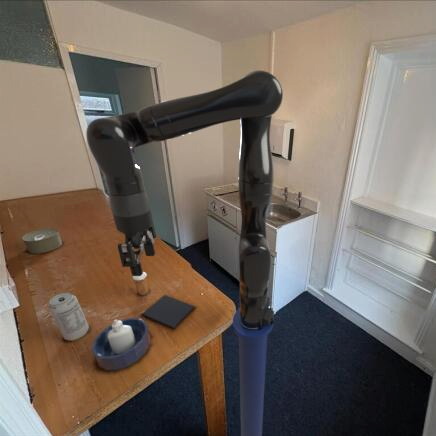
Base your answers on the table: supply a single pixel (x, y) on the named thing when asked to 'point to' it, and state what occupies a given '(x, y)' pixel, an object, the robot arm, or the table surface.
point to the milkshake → (141, 283)
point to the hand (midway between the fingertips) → (144, 264)
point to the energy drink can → (68, 316)
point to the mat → (168, 311)
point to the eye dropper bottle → (121, 337)
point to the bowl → (125, 359)
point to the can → (42, 240)
